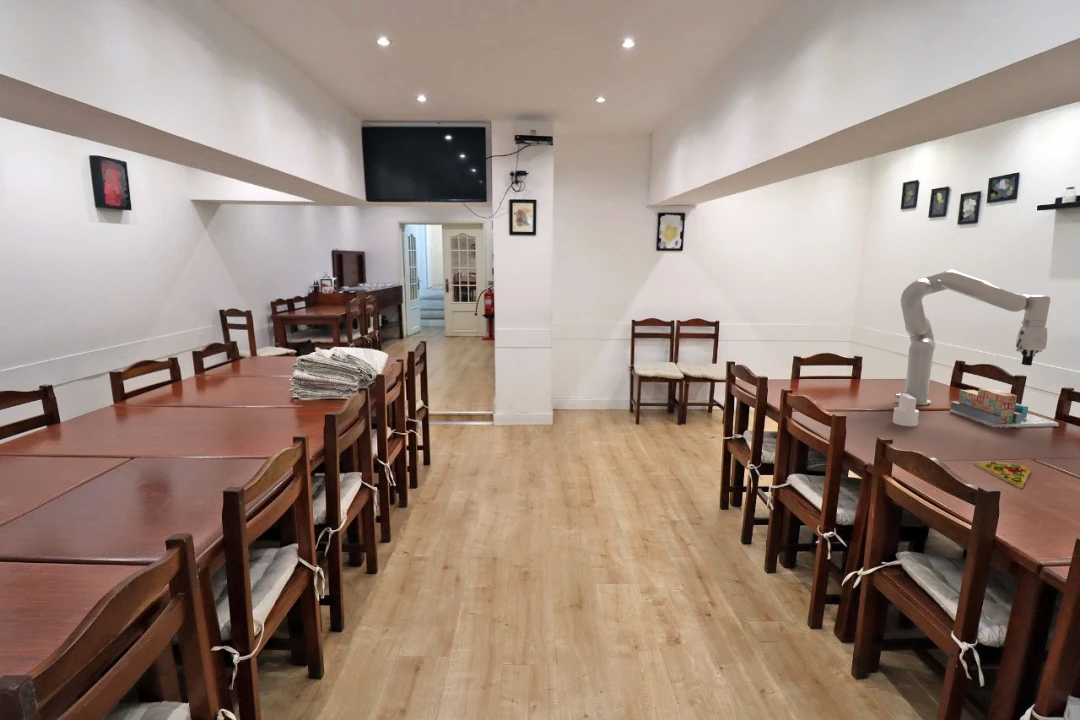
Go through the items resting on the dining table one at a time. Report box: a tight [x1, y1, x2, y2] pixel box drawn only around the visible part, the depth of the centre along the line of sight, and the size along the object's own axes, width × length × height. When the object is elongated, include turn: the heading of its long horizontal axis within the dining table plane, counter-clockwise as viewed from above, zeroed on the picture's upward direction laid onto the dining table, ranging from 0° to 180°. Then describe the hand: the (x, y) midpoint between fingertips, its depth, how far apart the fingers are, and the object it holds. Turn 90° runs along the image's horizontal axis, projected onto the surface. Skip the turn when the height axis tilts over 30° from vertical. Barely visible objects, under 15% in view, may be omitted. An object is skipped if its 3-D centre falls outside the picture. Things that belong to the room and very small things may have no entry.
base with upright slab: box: [892, 393, 920, 427], centre depth 237 cm, size 9×9×12 cm
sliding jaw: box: [1013, 402, 1029, 423], centre depth 242 cm, size 12×24×5 cm, turn 4°
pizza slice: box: [973, 460, 1032, 489], centre depth 181 cm, size 16×21×3 cm
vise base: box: [949, 400, 1060, 429], centre depth 243 cm, size 28×24×5 cm
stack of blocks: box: [958, 387, 1018, 423], centre depth 241 cm, size 21×6×12 cm, turn 4°
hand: (1026, 364), depth 243 cm, fingers closed
